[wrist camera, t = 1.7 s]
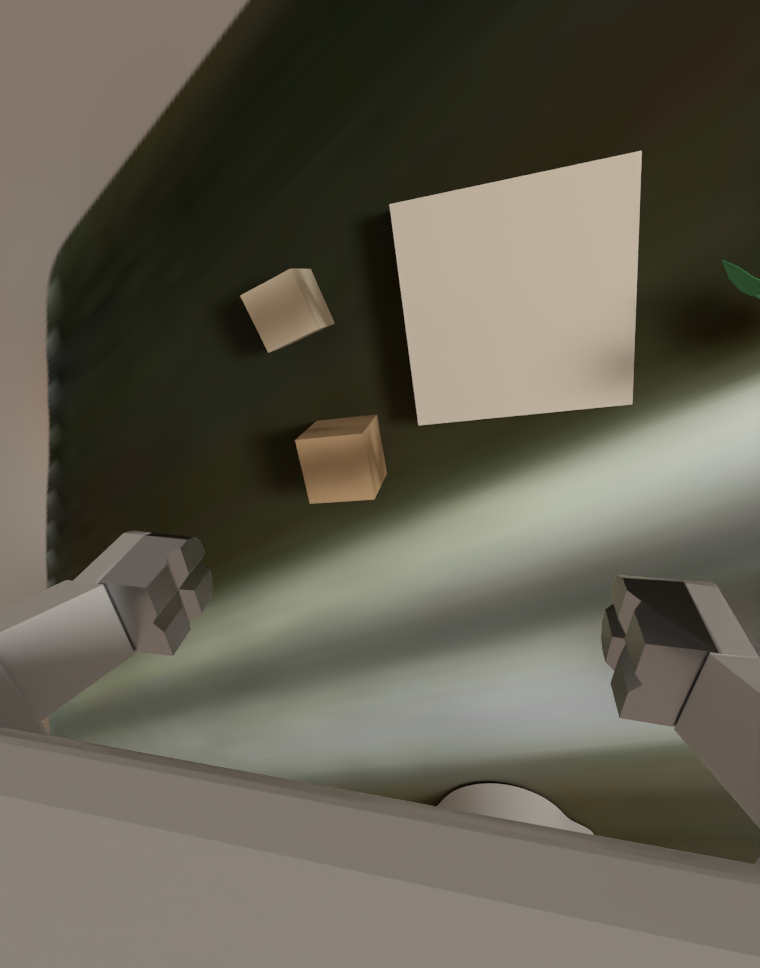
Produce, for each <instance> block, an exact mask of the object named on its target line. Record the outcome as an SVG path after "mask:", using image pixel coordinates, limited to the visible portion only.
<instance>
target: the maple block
mask: <svg viewBox="0 0 760 968" xmlns="http://www.w3.org/2000/svg"><path fill="white" fill-rule="evenodd" d="M240 296H241V298H242V301H243V303H244V305H245V307H246V309H247V311H248V313H249V315H250V317H251V319H252V321H253V323H254V325H255V327H256V329H257V331H258V333H259V335H260V337H261V339H262V341H263V343H264V345H265V347H266V349H267V351H268V353H269V352H272V351H275V350H277V349H280V348H283V347H285V346H288V345H290V344H293V343H295V342H297V341H299V340H301V339H303V338H305V337H307V336H309V335H312V334H314V333H316V332H318V331H320V330H322V329H324V328H326V327H328V326H331V325H333V324H335V323H334V321H333V319H332V316H331V314H330V312H329V310H328V307H327V305H326V303H325V300H324V298H323V296H322V294H321V291H320V289H319V287H318V285H317V282H316V280H315V278H314V276H313V273H312V271H311V269H289V270H287V271H285V272H283V273H281V274H280V275H278V276H276V277H274V278H272V279H270V280H268V281H267V282H265V283H263V284H261V285H259V286H257V287H255V288H253V289H252V290H250V291H248V292H246V293H244V294H242V295H240Z"/></svg>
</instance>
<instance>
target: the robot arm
mask: <svg viewBox="0 0 760 968" xmlns="http://www.w3.org/2000/svg"><path fill="white" fill-rule="evenodd" d="M203 555H204V550H203V547H202V544H201V541H200V540H198V539H196V538H194V537H187V536H178V535H169V534H160V533H148V532H139V531H129V532H126V533H123V534H122V535H121V536H120V537H119V538H118V539H117V540H116V541H115V542H114V543H113V544H112V545H111V546H109V547H108V548H107V549H106V550H105V551H104V552H103V553H102V554H101V555H100V556H99V557H98V558H97V559H96V560H95V561H94V562H92V563H91V564H90V565H89V566H88V567H87V568H86V569H85V570H84V571H83V572H82V573H81V574H80V575H79V576H78V577H77V578H75V579H74V580H73V581H69V580H66V581H63V582H61V583H59V584H57V585H54V586H52V587H50V588H48V589H45V590H43V591H41V592H39V593H37V594H34V595H32V596H30V597H27V598H25V599H23V600H21V601H19V602H16V603H14V604H12V605H10V606H7V607H5V608H3V609H1V610H0V968H760V857H759V858H758V860H757V861H756V862H755V863H754V864H750V863H745V862H739V861H734V860H728V859H723V858H717V857H712V856H706V855H701V854H695V853H690V852H684V851H679V850H673V849H668V848H662V847H657V846H651V845H646V844H640V843H635V842H629V841H624V840H618V839H613V838H607V837H602V836H596V835H594V834H593V832H592V831H590V830H589V829H588V828H586V827H584V826H582V825H580V824H578V823H576V822H574V821H572V820H570V819H569V818H568V817H566V816H565V815H564V814H563V813H562V812H561V811H560V810H559V809H558V808H557V807H556V806H555V805H554V804H552V803H551V802H550V801H548V800H547V799H545V798H543V797H542V796H540V795H538V794H536V793H533V792H531V791H528V790H526V789H523V788H519V787H515V786H511V785H505V784H494V783H485V784H475V785H470V786H466V787H462V788H460V789H457V790H455V791H453V792H452V793H450V794H449V795H447V796H446V797H445V798H444V799H443V800H442V801H441V802H440V803H439V804H438V805H437V806H431V805H426V804H420V803H415V802H409V801H404V800H398V799H393V798H388V797H382V796H377V795H371V794H366V793H360V792H355V791H349V790H344V789H338V788H333V787H327V786H322V785H317V784H311V783H306V782H300V781H295V780H289V779H284V778H278V777H273V776H267V775H262V774H256V773H251V772H245V771H240V770H234V769H229V768H223V767H218V766H213V765H207V764H202V763H196V762H191V761H185V760H180V759H174V758H169V757H163V756H158V755H152V754H147V753H141V752H136V751H130V750H125V749H119V748H114V747H108V746H103V745H97V744H92V743H86V742H81V741H75V740H70V739H64V738H59V737H53V736H50V734H49V733H48V731H47V730H46V728H45V727H44V726H43V724H42V723H41V721H42V720H43V719H44V718H46V717H47V716H49V715H50V714H51V713H53V712H54V711H56V710H57V709H58V708H60V707H61V706H63V705H64V704H65V703H67V702H68V701H70V700H71V699H72V698H74V697H75V696H77V695H78V694H79V693H81V692H82V691H83V690H85V689H86V688H88V687H89V686H90V685H92V684H93V683H95V682H96V681H97V680H99V679H100V678H102V677H103V676H104V675H106V674H107V673H108V672H110V671H111V670H113V669H114V668H115V667H117V666H118V665H120V664H121V663H122V662H124V661H125V660H127V659H128V658H129V657H131V656H132V655H134V651H135V652H144V653H153V654H162V655H172V656H173V655H174V654H175V652H176V651H177V649H178V648H179V646H180V645H181V643H182V642H183V640H184V639H185V637H186V636H187V634H188V633H189V631H190V630H191V629H190V622H189V621H190V620H191V619H193V618H195V617H196V616H198V615H200V614H201V613H202V612H203V610H204V609H205V607H206V606H207V604H208V602H209V599H210V595H211V592H212V577H211V573H210V569H209V568H208V567H207V566H205V565H204V564H203V563H202V562H201V561H200V560H201V558H202V557H203ZM610 593H611V596H612V599H613V603H614V604H612V605H611V606H610V607H608V608H607V609H605V613H604V617H603V621H602V634H601V640H602V649H603V654H604V658H605V662H606V663H607V664H608V665H609V666H610V667H611V668H612V669H613V670H614V674H613V677H612V681H611V686H612V690H613V694H614V698H615V702H616V706H617V710H618V714H619V718H624V719H630V720H636V721H642V722H648V723H654V724H660V725H666V726H672V727H675V729H674V730H675V731H676V732H677V733H678V734H679V735H680V737H681V738H682V739H683V740H684V741H685V742H686V744H687V745H688V746H689V747H690V748H691V749H692V751H693V752H694V753H695V754H696V755H697V756H698V758H699V759H700V760H701V761H702V762H703V763H704V764H705V766H706V767H707V768H708V769H709V770H710V771H711V773H712V774H713V775H714V776H715V777H716V778H717V780H718V781H719V782H720V783H721V784H722V785H723V787H724V788H725V789H726V790H727V791H728V792H729V794H730V795H731V796H732V797H733V798H734V799H735V800H736V802H737V803H738V804H739V805H740V806H741V807H742V809H743V810H744V811H745V812H746V813H747V814H748V816H749V817H750V818H751V819H752V820H753V821H754V823H755V824H756V825H757V826H758V827H759V828H760V658H759V656H758V655H757V653H756V651H755V650H754V648H753V646H752V644H751V643H750V641H749V639H748V638H747V636H746V634H745V633H744V631H743V629H742V627H741V626H740V624H739V622H738V621H737V619H736V617H735V615H734V614H733V612H732V610H731V609H730V607H729V605H728V604H727V602H726V600H725V598H724V597H723V595H722V593H721V592H720V590H719V588H718V586H717V585H715V584H714V583H712V582H707V581H693V580H671V579H659V578H647V577H635V576H623V575H617V576H616V578H615V579H614V581H613V584H612V587H611V591H610Z"/></svg>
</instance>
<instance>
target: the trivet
mask: <svg viewBox="0 0 760 968" xmlns="http://www.w3.org/2000/svg"><path fill="white" fill-rule="evenodd" d="M641 160H642V151H638V152H633V153H629V154H624V155H619V156H614V157H610V158H605V159H600V160H596V161H591V162H586V163H582V164H577V165H572V166H567V167H563V168H558V169H553V170H549V171H544V172H539V173H535V174H530V175H525V176H520V177H516V178H511V179H506V180H502V181H497V182H492V183H488V184H483V185H478V186H473V187H469V188H464V189H459V190H455V191H450V192H445V193H441V194H436V195H431V196H426V197H422V198H417V199H412V200H408V201H403V202H398V203H394V204H389V206H390V213H391V221H392V229H393V236H394V244H395V251H396V259H397V267H398V274H399V282H400V289H401V297H402V305H403V312H404V320H405V327H406V335H407V343H408V350H409V358H410V365H411V373H412V381H413V388H414V396H415V404H416V411H417V419H418V425H428V424H439V423H449V422H459V421H469V420H479V419H489V418H499V417H509V416H519V415H530V414H540V413H550V412H560V411H570V410H580V409H590V408H600V407H610V406H620V405H631V404H632V402H633V375H634V348H635V321H636V294H637V267H638V240H639V213H640V186H641Z"/></svg>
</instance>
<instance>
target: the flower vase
mask: <svg viewBox="0 0 760 968" xmlns="http://www.w3.org/2000/svg"><path fill="white" fill-rule="evenodd" d="M722 262H723V265H724V267H725V270H726V272H727V275H728V277H729V279H730V280H731V281H732V282H733V284H734V285H735V286H736V287H737V288H738V289H739V290H740V291H741V292H744V293H746V294H748V295H750V296H753V295H755V294H758V293H760V279H758V278H756V277H753V276H752V275H750V274H749V273H747V272H746V271H744V270H743V269H741V268H740V267H738V266H736V265H734V264H732V263H729V262H727V261H725V260H722ZM755 297H758V298H760V294H758V295H755Z"/></svg>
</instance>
